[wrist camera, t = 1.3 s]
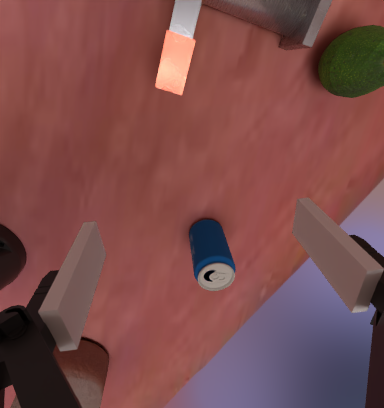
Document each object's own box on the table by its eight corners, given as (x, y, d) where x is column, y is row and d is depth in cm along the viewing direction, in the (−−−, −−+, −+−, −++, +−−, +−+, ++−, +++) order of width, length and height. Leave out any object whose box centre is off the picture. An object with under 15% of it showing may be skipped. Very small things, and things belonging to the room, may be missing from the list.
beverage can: (192, 215, 47) (199, 259, 36) (225, 219, 48) (242, 263, 37) (186, 243, 50) (191, 291, 39) (217, 246, 51) (231, 294, 40)
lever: (184, -86, 22) (186, -111, 19) (226, -67, 23) (235, -87, 20) (151, 82, 29) (149, 85, 25) (185, 93, 29) (187, 96, 26)
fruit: (334, 16, 33) (410, -5, 23) (371, 52, 36) (456, 48, 26) (294, 73, 36) (346, 78, 26) (331, 103, 39) (392, 118, 29)
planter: (62, 382, 69) (36, 461, 55) (19, 347, 60) (-25, 431, 47) (122, 364, 67) (111, 441, 54) (86, 326, 59) (62, 406, 45)
